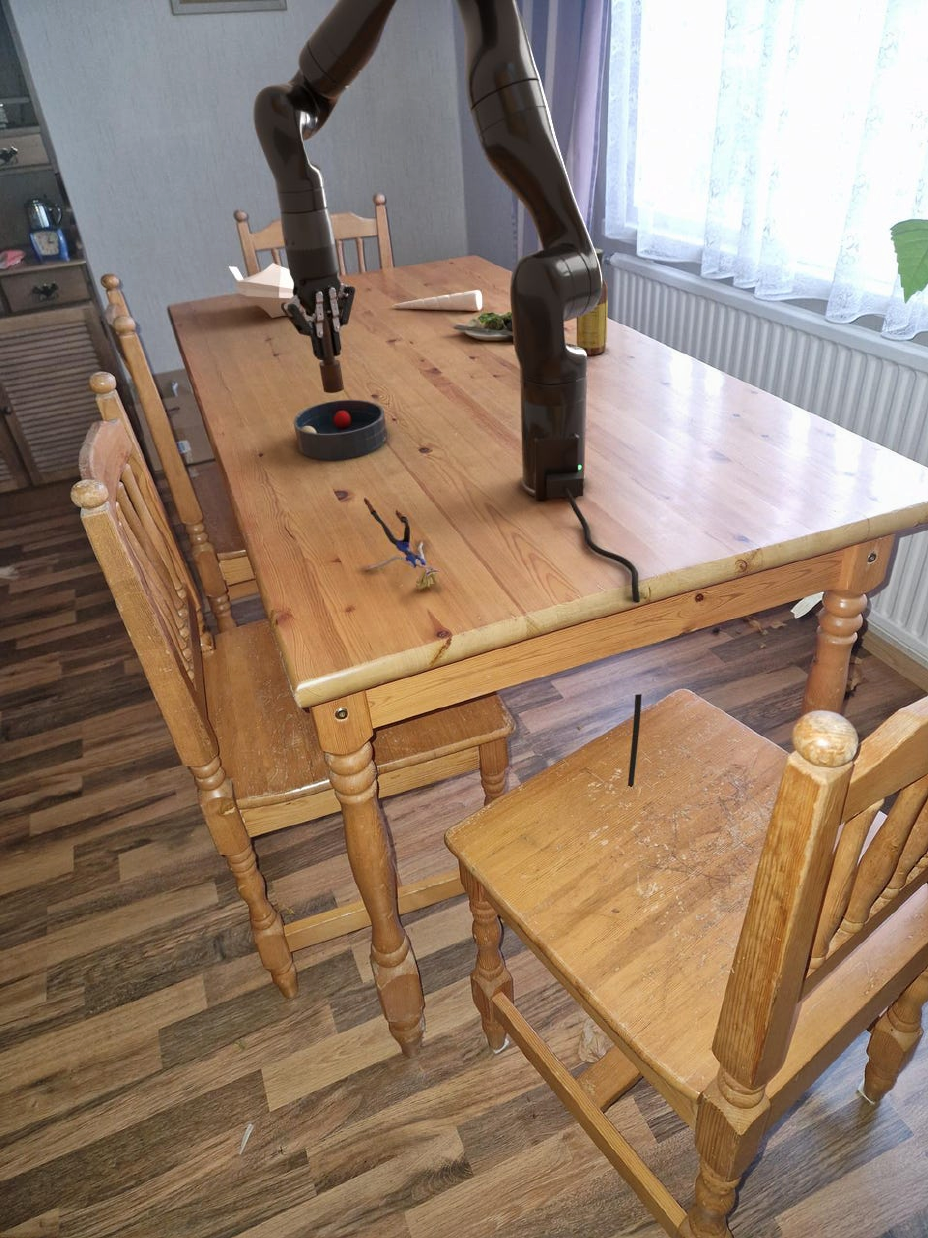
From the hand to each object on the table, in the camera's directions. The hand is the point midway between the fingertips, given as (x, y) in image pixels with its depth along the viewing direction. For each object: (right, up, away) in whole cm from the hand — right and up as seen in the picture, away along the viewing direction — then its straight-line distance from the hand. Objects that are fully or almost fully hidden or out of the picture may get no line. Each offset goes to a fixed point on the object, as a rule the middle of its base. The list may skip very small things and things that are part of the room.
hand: (328, 356), depth 132 cm
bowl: (+1, -12, +9) cm, 15 cm away
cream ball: (-5, -11, +7) cm, 14 cm away
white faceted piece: (-25, +37, +79) cm, 91 cm away
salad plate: (+31, +23, +53) cm, 66 cm away
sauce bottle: (+49, +13, +39) cm, 64 cm away
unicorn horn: (+16, +35, +71) cm, 81 cm away
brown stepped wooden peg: (0, -4, +3) cm, 5 cm away
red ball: (0, -7, +11) cm, 14 cm away
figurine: (+14, -37, -26) cm, 47 cm away
